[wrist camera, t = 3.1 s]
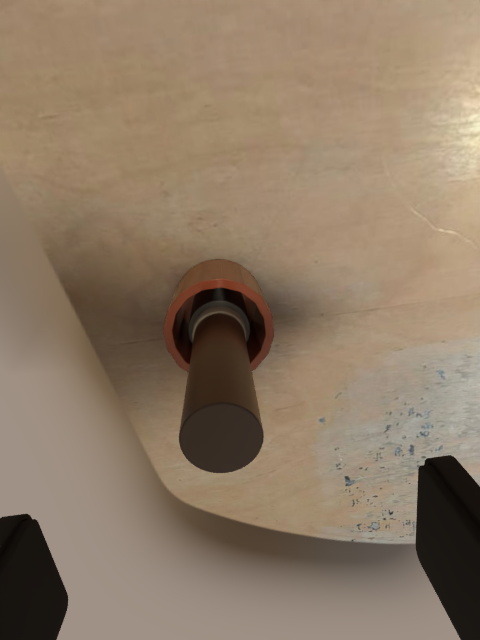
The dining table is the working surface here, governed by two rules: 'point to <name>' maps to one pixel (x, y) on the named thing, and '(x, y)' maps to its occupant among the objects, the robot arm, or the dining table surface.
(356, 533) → the dining table surface
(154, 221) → the dining table surface
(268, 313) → the brush pot
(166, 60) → the dining table surface
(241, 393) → the brush
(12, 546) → the robot arm
